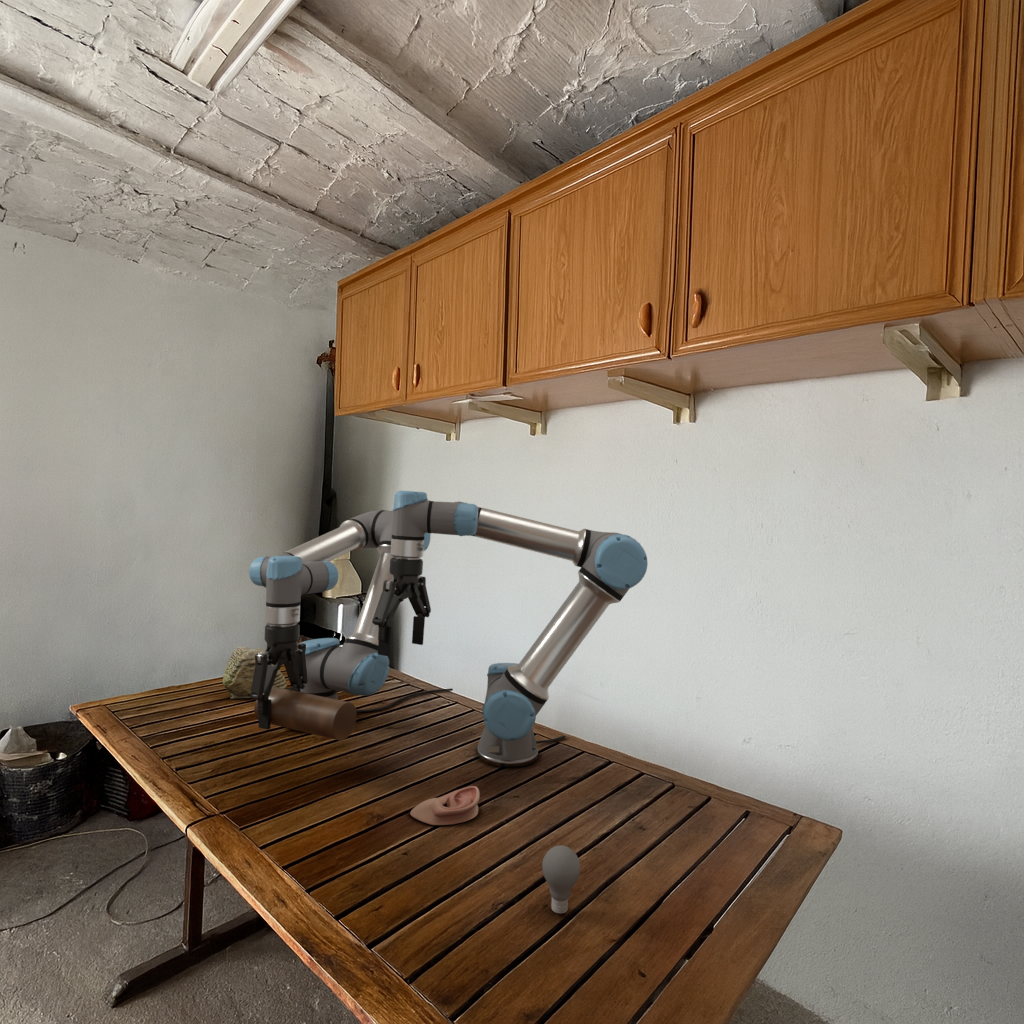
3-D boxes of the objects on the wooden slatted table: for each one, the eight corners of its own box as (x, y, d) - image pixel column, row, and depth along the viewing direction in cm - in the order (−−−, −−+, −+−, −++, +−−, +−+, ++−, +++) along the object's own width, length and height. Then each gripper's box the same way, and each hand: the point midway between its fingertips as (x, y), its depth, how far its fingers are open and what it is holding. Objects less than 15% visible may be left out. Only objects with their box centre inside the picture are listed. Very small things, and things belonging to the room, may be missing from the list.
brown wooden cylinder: (253, 726, 143) (254, 691, 143) (279, 716, 151) (281, 682, 151) (332, 745, 134) (333, 708, 134) (356, 733, 142) (357, 697, 142)
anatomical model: (405, 801, 125) (424, 776, 136) (404, 821, 125) (423, 795, 136) (470, 810, 122) (484, 785, 133) (469, 831, 122) (483, 803, 133)
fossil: (218, 695, 195) (220, 647, 195) (278, 685, 208) (279, 640, 207) (228, 703, 189) (230, 653, 188) (289, 692, 201) (290, 645, 201)
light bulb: (538, 899, 102) (540, 837, 102) (574, 898, 103) (577, 837, 103) (542, 923, 96) (545, 859, 96) (581, 923, 97) (584, 858, 97)
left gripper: (259, 633, 134) (256, 740, 135) (326, 618, 153) (322, 711, 154) (233, 629, 137) (230, 733, 138) (301, 614, 156) (298, 706, 157)
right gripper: (388, 562, 133) (382, 663, 133) (448, 556, 156) (443, 642, 156) (359, 559, 136) (353, 657, 137) (422, 553, 159) (417, 637, 159)
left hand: (278, 721), depth 146 cm, fingers closed on brown wooden cylinder, 8 cm apart
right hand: (401, 649), depth 146 cm, fingers open, 13 cm apart
